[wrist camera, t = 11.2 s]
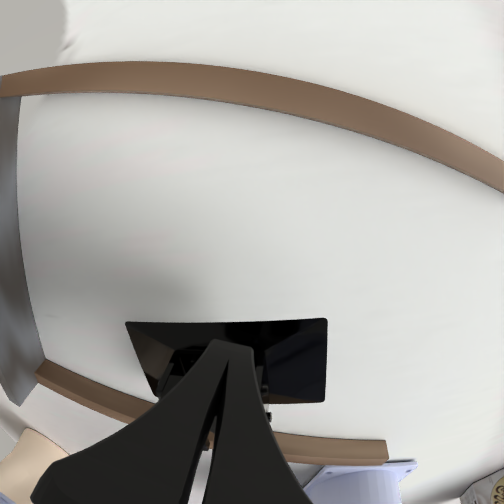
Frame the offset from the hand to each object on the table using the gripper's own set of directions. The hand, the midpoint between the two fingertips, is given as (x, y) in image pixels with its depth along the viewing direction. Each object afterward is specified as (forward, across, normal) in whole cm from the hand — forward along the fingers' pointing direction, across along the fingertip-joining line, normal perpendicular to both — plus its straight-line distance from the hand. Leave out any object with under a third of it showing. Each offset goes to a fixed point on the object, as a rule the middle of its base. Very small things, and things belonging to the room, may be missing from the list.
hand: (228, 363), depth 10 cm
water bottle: (+3, +18, +27) cm, 33 cm away
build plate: (+4, 0, +3) cm, 5 cm away
